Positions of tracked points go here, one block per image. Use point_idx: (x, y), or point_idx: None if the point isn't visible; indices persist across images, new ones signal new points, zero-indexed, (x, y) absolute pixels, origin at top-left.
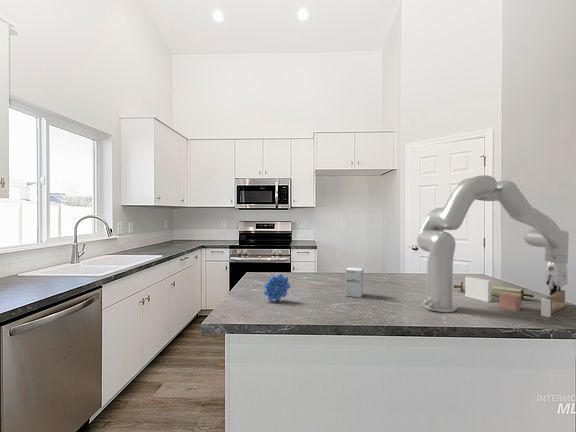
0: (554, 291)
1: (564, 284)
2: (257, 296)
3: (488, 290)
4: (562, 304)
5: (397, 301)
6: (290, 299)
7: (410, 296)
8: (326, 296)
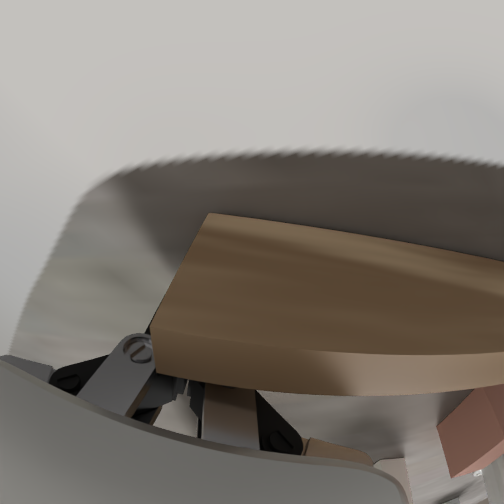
0: (257, 403)
1: (100, 438)
2: (478, 500)
3: (410, 499)
4: (315, 239)
5: (469, 483)
6: (485, 493)
7: (420, 499)
8: (462, 500)
